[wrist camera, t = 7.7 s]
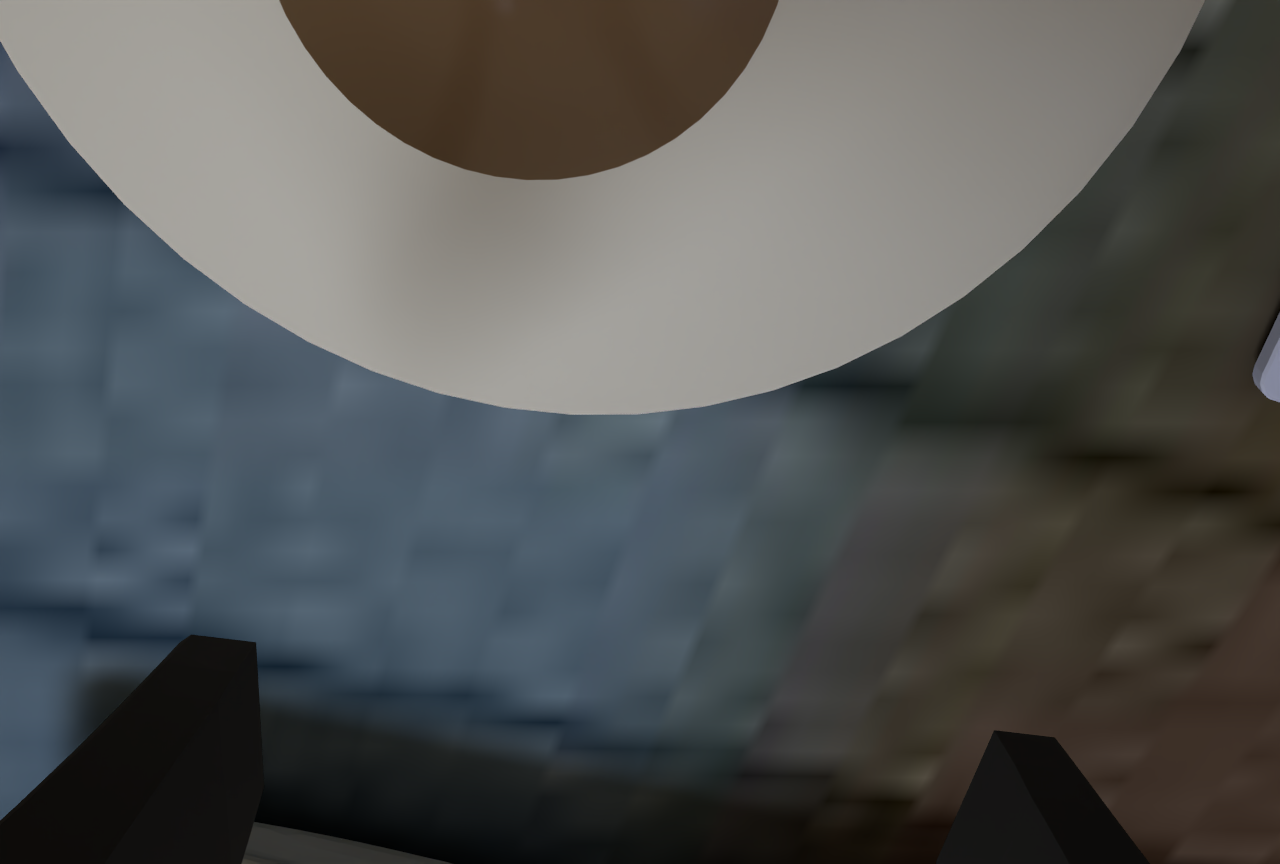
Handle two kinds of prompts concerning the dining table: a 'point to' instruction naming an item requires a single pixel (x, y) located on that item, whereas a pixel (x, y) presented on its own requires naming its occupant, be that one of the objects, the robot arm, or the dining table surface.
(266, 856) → the square plate
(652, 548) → the dining table surface
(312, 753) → the dining table surface
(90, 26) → the lid
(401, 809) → the dining table surface
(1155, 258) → the dining table surface
